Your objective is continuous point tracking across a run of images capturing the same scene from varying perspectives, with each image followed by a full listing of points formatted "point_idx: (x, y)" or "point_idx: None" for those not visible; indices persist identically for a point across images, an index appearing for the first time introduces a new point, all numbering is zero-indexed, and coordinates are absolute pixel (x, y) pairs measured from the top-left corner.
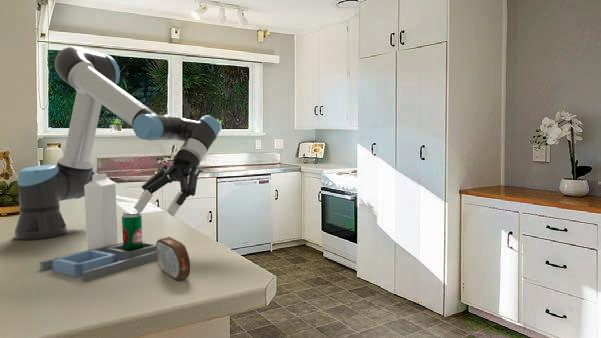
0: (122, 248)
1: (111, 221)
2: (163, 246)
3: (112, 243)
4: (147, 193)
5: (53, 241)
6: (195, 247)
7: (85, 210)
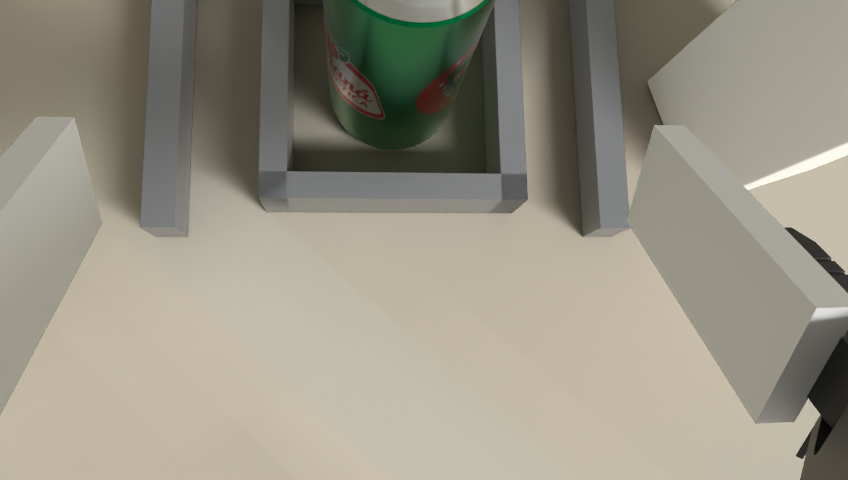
0: (490, 73)
1: (793, 79)
2: None
3: None
4: (770, 307)
5: None
6: (158, 473)
7: None
